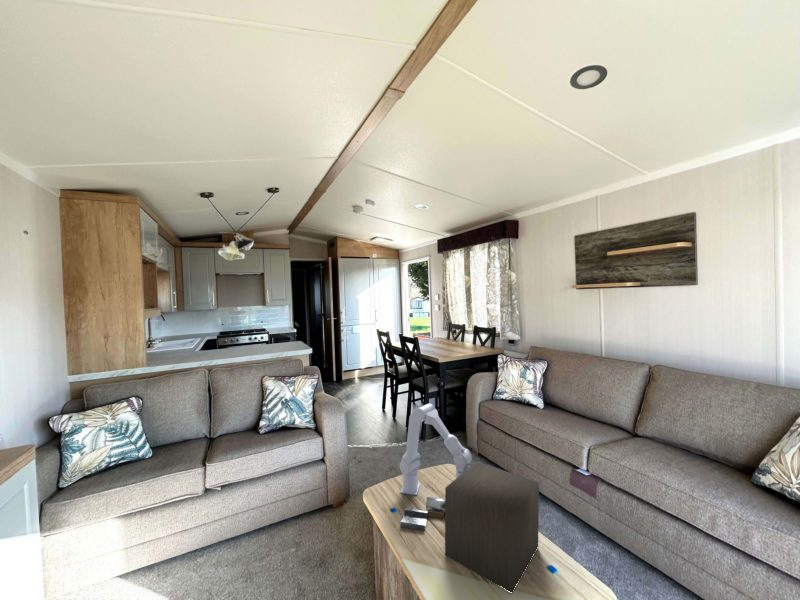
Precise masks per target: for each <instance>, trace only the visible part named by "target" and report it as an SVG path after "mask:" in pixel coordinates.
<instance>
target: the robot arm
mask: <svg viewBox="0 0 800 600" xmlns="http://www.w3.org/2000/svg"><path fill="white" fill-rule="evenodd" d="M421 423H424V424H425V425H432V426H433V427H434V429H435V430H436V431H437V433H438V434H439V435H440V436H441V437H442V438H443V440H444V441H443V444H444V446H445V447H446V448H447V449H448V451H449V452H450V453H451V455H452V456H453V463H454V465H455V479H456V478H458V477H459V476H460V475H461V474H463V473H464V472H465V471H466V470H467V469H469V468H470V467H471V466H470V463H471V462H472V460H473V455H472V453H471V451H470V450H469V449H468V448H465V446H463V445H462V444H461V442H460V440H458V439H459V438H457V436H455V435H454V434H451V433H450V432H449V430H448V429H447V426H445V424H444V422H443V421H442V419H441V418H440V416H439V413H438V410H437V409H436V407H435V405H434V404H432V403H426V404H423V405H422V406H420V407H417V408H415V409H413V410H412V412H411V413H410V415H409V419H408V429H407V430H408V431H407V438H406V446H405V447H406V449H405V453H404V454H403V455H402V457H401V461H400V462H399V470H400V471H401V473H402V487H401V489H400V494H406V495H411V496H413V495H414V496H417V495H418V493H419V491H420V487H421V483H419V468H420V467H421V464H422V461H421V454H420V453H419V452H418V450H419V440H420V430H421ZM447 486H448V485H446V486H445V487H447Z"/></svg>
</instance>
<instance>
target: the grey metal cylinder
mask: <svg viewBox="0 0 800 600" xmlns="http://www.w3.org/2000/svg"><path fill="white" fill-rule="evenodd" d="M427 510H431V511H438V512H443V515H445V498H441V497H440V498H439V497H433V496H432V497H431V496H426V502H425V511H427Z"/></svg>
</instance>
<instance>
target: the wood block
mask: <svg viewBox="0 0 800 600" xmlns="http://www.w3.org/2000/svg"><path fill="white" fill-rule="evenodd" d="M446 486H447V487H446ZM446 486H445V489H444V490H445V492H444V495H445V496H444V499H445V514H444V518H445V519H444V520H445V521H444V555H445V556H446V557H448V558H449V559H451V560H453V561H454V562H456V563H458V564H459V565H461V566H463V567H464V568H467V569H468V570H470V571H471V572H473V573H474V574H476V575H478V576H480V577H482V578H483V577H484V578H483V579H485V578H486V579H485V580H487V579H488V580H490V581H492V582H493V583H492V582H491V583H492V584H494V583H495V584H497V585H499V586H502V587H503V588H505V589H506V590H508V591H510V592H513V590H514V588H515V586H516V584H517V583H518V581H519V579H520V578H521V576H522V574H523V572H524V571H525V569H526V567H527V565H528V563H529V562H530V560H531V558H532V556H533V554H534V553H535V551H536V549H537V547H538V548H539V517H540V516H539V514H540V513H539V510H540V509H539V507H540V506H539V503H540V502H539V501H540V499H539V498H540V496H539V495H540V494H539V493H540V483H539V482H538V481H534V480H532V479H529V478H526V477H524V476H521V475H517V474H514V473H512V472H509V471H506V470H504V469H501V468H497V467H495V466H492V465H489V464H486V463H483V462H482V461H481V462H480V461H476V462H475V463H474V464H472V465H471V466H470V468H469V469H467V470H466V471H465V472H464V473H463V474H461V475H460V476H459V477H458V478H456V477H455V479H454V480H452V481H451V482H450V483H449V484H448V485H446ZM535 554H536V553H535ZM531 561H532V560H531ZM530 563H531V562H530ZM527 568H528V567H527ZM526 570H527V569H526ZM525 572H526V571H525ZM523 575H524V574H523ZM522 577H523V576H522ZM521 579H522V578H521ZM488 580H487V581H488ZM490 581H489V582H490ZM519 582H520V581H519ZM495 584H494V585H495ZM518 584H519V583H518ZM497 585H496V586H497ZM499 586H498V587H499ZM514 591H515V590H514ZM513 593H514V592H513Z"/></svg>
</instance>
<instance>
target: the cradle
mask: <svg viewBox="0 0 800 600" xmlns="http://www.w3.org/2000/svg"><path fill="white" fill-rule="evenodd" d="M403 511H404V512H403V513H404V514H403V516H402V519H401V520H400V524H399V525H400V528H404V529H410V530H418V531H423V532H425V531H426V526H427V522H428V517H429V516H428V511H426V510H421V509H416V508H415V509H414V508H407V507H405V508H404V510H403Z"/></svg>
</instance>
